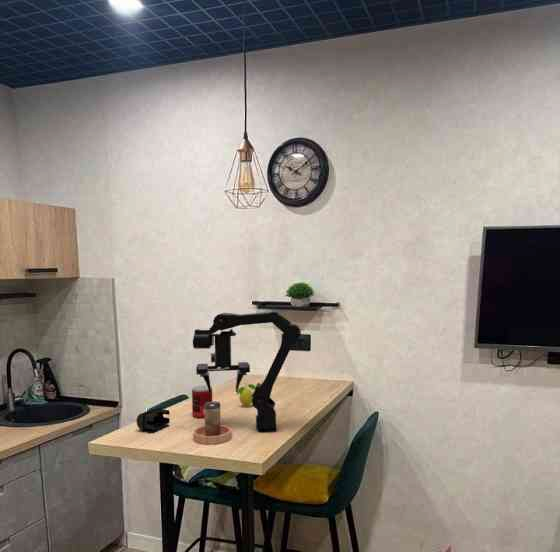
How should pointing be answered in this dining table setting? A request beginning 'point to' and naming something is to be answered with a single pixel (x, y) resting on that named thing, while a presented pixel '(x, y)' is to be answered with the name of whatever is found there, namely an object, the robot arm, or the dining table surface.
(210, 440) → the terracotta dish
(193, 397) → the canned food
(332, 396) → the dining table surface
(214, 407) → the pepper mill
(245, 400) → the lemon
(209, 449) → the dining table surface
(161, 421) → the end cap
